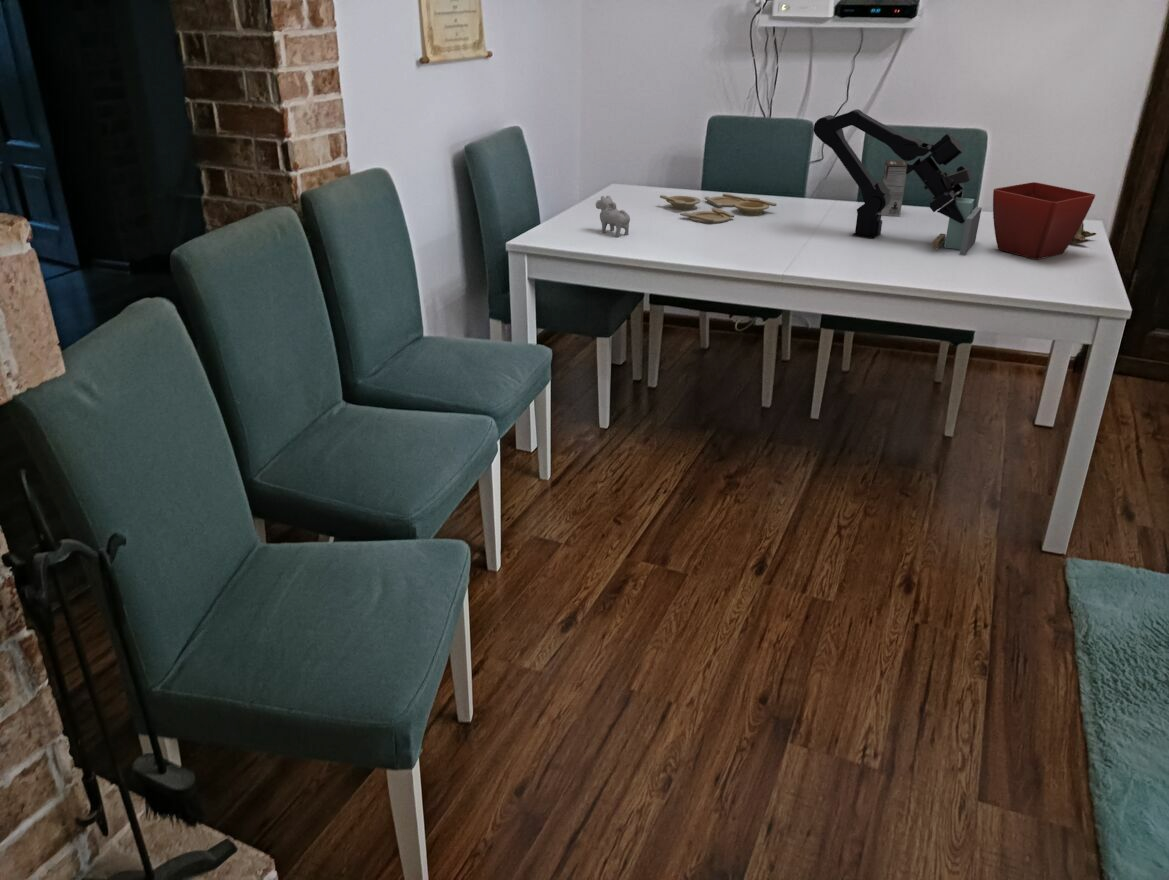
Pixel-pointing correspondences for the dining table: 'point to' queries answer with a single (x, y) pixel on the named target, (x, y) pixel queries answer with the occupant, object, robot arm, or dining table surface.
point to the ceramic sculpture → (1082, 235)
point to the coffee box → (894, 186)
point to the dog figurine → (612, 216)
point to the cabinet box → (958, 224)
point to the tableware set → (716, 215)
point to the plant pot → (1038, 218)
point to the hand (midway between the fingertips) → (965, 220)
